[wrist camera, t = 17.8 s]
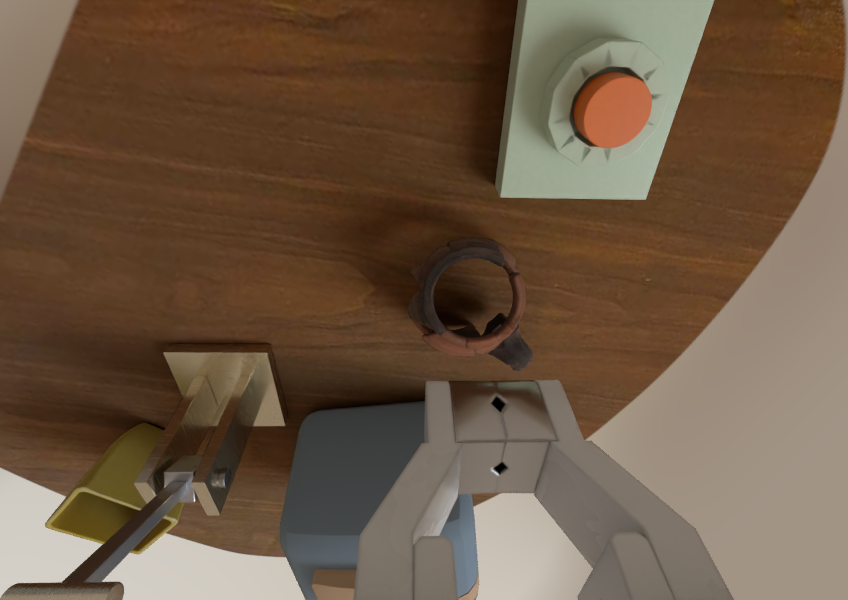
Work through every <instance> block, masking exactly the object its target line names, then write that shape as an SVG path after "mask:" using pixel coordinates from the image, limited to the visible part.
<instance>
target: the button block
mask: <svg viewBox="0 0 848 600" xmlns="http://www.w3.org/2000/svg"><path fill="white" fill-rule="evenodd" d="M713 2H714V0H518V6H517V14H516V22H515V30H514V38H513V46H512V54H511V62H510V70H509V78H508V86H507V93H506V101H505V109H504V117H503V125H502V133H501V141H500V149H499V157H498V165H497V173H496V181H495V187H496V189H497V191H498V194H499V196H500V197H508V198H570V199H632V200H645V199H646V197H647V194H648V191H649V188H650V186H651V183H652V180H653V177H654V174H655V171H656V168H657V165H658V162H659V159H660V156H661V154H662V151H663V148H664V145H665V142H666V139H667V136H668V133H669V130H670V127H671V124H672V122H673V119H674V116H675V113H676V110H677V107H678V104H679V101H680V98H681V95H682V92H683V89H684V87H685V84H686V81H687V78H688V75H689V72H690V69H691V66H692V63H693V60H694V57H695V55H696V52H697V49H698V46H699V43H700V40H701V37H702V34H703V31H704V28H705V25H706V23H707V20H708V17H709V14H710V11H711V8H712V5H713ZM608 72H620V73H624V74H627V75H629V76H632V77H635V78H638V79H640V80H641V81H643V82H644V83H645V84H646V85H647V87H648V88H649V91H650V93H651V97H652V109H651V114H650V117H649V119H648V121H647V123H646V125H645V127H644V128H643V130H642V131H641V132H640V133H639V134H638V135H637V136H636V137H635V138H634V139H633V140H631V141H630V142H628V143H626V144H624V145H622V146H619V147H616V148H602V147H598V146H596V145H594V144H593V143H592V142H590V141H589V140H588V139H587V138H585V137H584V136H583V135H582V134H581V133H580V132H579V131H578V129H577V128H576V125H575V122H574V106H575V103H576V100H577V98H578V96H579V94H580V92H581V91H582V89H583V88H584V87H585V86H586V85H587V84H588V83H589V82H590V81H591V80H592V79H594V78H596V77H597V76H599V75H601V74H604V73H608Z"/></svg>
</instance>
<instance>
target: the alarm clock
mask: <svg viewBox="0 0 848 600" xmlns="http://www.w3.org/2000/svg"><path fill="white" fill-rule="evenodd" d="M424 423H425V401H418V402H407V403H395V404H383V405H372V406H360V407H348V408H337V409H325V410H319V411H316V412H313V413H311V414H309V415H308V416H307V417H306V418H305V419H304V420H303V422H302V424H301V426H300V429H299V434H298V439H297V444H296V448H295V453H294V458H293V463H292V468H291V473H290V478H289V483H288V488H287V493H286V498H285V503H284V508H283V513H282V517H281V522H280V544H281V547H282V549H283V552H284V554H285V556H286V558H287V560H288V562H289V565H290V566H291V569H292V571H293V573H294V575H295V578H296V580H297V582H298V584H299V586H300V588H301V591H302V593H303V594H304V597H305V599H306V600H353V599H354V589H355V579H356V568H357V558H358V548H359V537H360V534H361V532H362V531H363V529H364V528H365V526H366V525H367V524H368V522H369V521H370V519H371V518H372V516H373V515H374V513H375V512H376V510H377V509H378V507H379V506H380V504H381V503H382V501H383V500H384V498H385V497H386V495H387V494H388V492H389V491H390V489H391V488H392V487H393V485H394V484H395V482H396V481H397V479H398V478H399V476H400V475H401V473H402V472H403V470H404V469H405V467H406V466H407V464H408V463H409V461H410V460H411V458H412V457H413V455H414V454H415V452H416V451H417V450H418V448H419V447H420V445H421V444H422V443H425V439H424ZM439 536H445V537H446V538H448V539H449V540H450V541H451V542H452V543H453V549H454V560H455V571H456V582H457V593H458V600H476V598H477V595H478V586H479V574H478V561H477V548H476V533H475V520H474V510H473V502H472V494H459V495H458V497H457V499H456V501H455V503H454V505H453V508H452V510H451V512H450V514H449V516H448V518H447V520H446V522H445V524H444V526H443V529H442V531H441V533H440V535H439Z"/></svg>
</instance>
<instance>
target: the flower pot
mask: <svg viewBox="0 0 848 600" xmlns="http://www.w3.org/2000/svg"><path fill="white" fill-rule="evenodd" d="M163 432H164V430H162V429H159V428H157V427H155V426H152V425H150V424H147V423H141V424H139V425H137V426H135V427H133V428H131V429H130V430H128V431H127V432H125V433H124V434H123V435H121V436H120V437H119V438H118V439H117V440H116V441H115V442H114V443H113V444H112V445H111V446H110V447H109V448H108V449H107V450H106V452H105V453H104V454H103V455H102V456H101V458H100V459H99V460H98V461H97V462H96V463H95V464H94V466H93V467H92V468H91V469H90V470H89V471H88V472H87V473H86V474H85V475H84V476H83V478H82V479H81V480H80V481H79V482H78V484H77V485H76V486H75V487H74V488H73V490H72V491H71V492H70V493H69V495H68V496H67V497H66V498H65V500H64V501H63V502H62V503H61V505H60V506H59V507H58V508H57V509H56V511H55V512H54V513H53V514H52V516H51V517H50V518H49V519H48V521H47V522H46V523H45V526H46V527H47V528H49V529H52V530H55V531H58V532H62V533H66V534H70V535H73V536H76V537H80V538H84V539H87V540H91V541H95V542H98V543H101V544H104V543H105V542H106V541H107V540H108V539H109V538H110V537H112V536H113V535H114V534H115V533H116V532H117V531H118V530H119V529H120V528H121V527H122V526H123V525H125V524H126V523H127V522H128V521H129V520H130V519H131V518H132V517H133V516H134V515H135V514H137V513H138V512H139V511H140V510H141V509H142V508H143V507H144V506H145V505H146V502H145V500H144V499H143V497H142V496H141V494H140V493H139V491H138V490H137V488H136V487H135V485H134V482H135V480H136V478H137V477H138V475H139V473H140V471H141V470H142V468H143V466H144V465H145V463H146V461H147V459H148V458H149V456H150V454H151V452H152V451H153V449H154V447H155V445H156V444H157V442H158V440H159V439H160V437H161V435H162V433H163ZM183 504H184V502H178V503H177V504H176V505H175V506H174V507H173V508H172V509H171V510H170V511H169V512H168V514H167V515H166V516H164V517H163V518H162V519H161V521H160V522H159V523H158V524H157V525H156V526H155V527H154V528H153V529H152V530H151V531H150V532H149V533H148V534H147V535H146V536H145V537H144V538H143V539H142V540H141V541H140V542H139V543H138V544H137V545H136V546H135V547H134V548H133V550H132V551H131V552H130V553H134V554H141V553H142V552H143V551H145V550H146V549H147V548H148V547H149V546H150V545H152V544H153V543H154V542H155V541H156V540H158V539H159V538H160V537H161V536H163V535H164V534H165V533H166V532H167V531H169V530H170V529H171V528H172V527H174V526H175V525H176V524H177V523H178V520H179V517H180V514H181V511H182V507H183Z"/></svg>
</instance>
